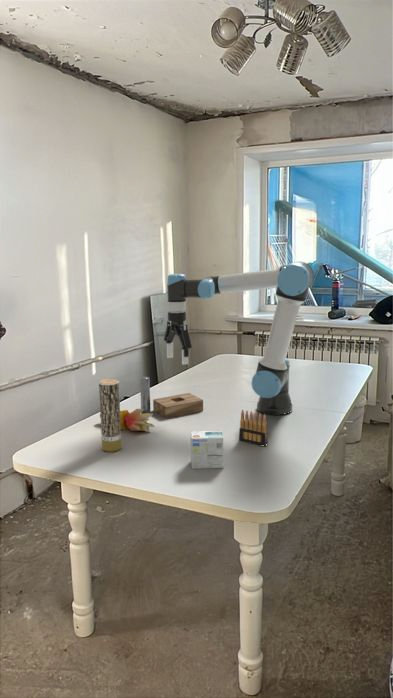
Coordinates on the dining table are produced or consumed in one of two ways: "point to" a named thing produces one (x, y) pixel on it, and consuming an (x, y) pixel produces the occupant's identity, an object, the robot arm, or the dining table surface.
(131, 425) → the torch
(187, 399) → the bore block
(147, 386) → the pin
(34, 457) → the dining table surface
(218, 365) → the dining table surface
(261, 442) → the ammunition clip
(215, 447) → the light bulb box
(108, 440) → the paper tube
